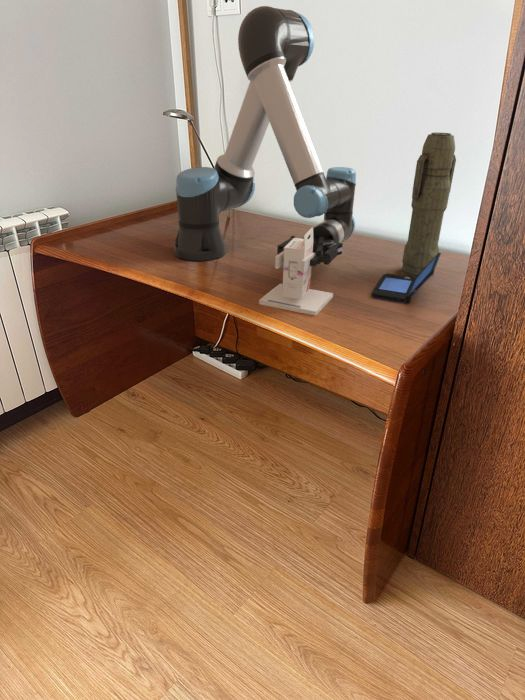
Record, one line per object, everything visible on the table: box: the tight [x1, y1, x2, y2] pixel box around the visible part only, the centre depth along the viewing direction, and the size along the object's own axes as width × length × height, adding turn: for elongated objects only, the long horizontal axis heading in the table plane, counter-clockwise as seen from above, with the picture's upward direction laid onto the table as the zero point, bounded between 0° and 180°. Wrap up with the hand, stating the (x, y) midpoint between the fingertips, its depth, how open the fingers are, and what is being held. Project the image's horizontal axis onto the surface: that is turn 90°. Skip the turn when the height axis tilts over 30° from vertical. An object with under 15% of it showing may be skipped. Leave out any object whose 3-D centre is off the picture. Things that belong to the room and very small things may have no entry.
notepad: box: [258, 283, 334, 316], centre depth 119 cm, size 14×12×1 cm
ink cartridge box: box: [282, 226, 314, 299], centre depth 115 cm, size 9×5×15 cm, turn 162°
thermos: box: [401, 132, 457, 277], centre depth 130 cm, size 9×12×35 cm
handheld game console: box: [371, 252, 442, 304], centre depth 123 cm, size 16×13×9 cm
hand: (289, 264), depth 110 cm, fingers closed on ink cartridge box, 5 cm apart
